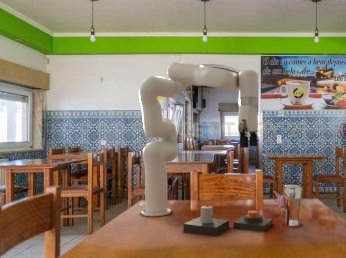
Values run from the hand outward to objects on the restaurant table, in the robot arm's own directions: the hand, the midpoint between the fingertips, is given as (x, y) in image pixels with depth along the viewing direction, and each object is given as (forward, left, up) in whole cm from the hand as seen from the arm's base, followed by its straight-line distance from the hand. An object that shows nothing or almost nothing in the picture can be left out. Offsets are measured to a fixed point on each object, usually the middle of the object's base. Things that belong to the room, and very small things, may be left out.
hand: (248, 146), depth 137 cm
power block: (+2, -2, -30) cm, 30 cm away
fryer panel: (-11, -13, -30) cm, 35 cm away
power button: (+2, -2, -27) cm, 27 cm away
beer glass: (+15, +6, -30) cm, 35 cm away
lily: (+8, +21, -30) cm, 38 cm away
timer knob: (-11, -13, -27) cm, 32 cm away
